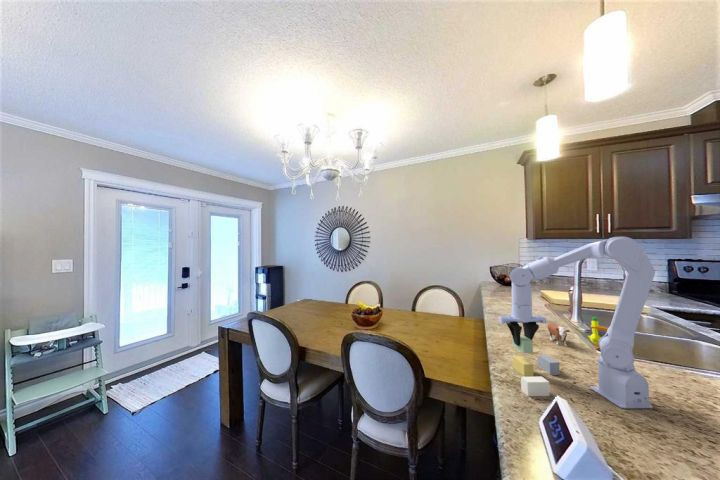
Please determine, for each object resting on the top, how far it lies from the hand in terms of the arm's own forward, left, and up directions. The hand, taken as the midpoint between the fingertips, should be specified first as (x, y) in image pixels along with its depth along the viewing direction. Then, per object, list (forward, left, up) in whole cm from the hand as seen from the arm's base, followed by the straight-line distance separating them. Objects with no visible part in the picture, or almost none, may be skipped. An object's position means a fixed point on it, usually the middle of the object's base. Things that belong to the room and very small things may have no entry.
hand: (522, 344), depth 85 cm
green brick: (0, 0, -2) cm, 2 cm away
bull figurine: (+23, -29, -9) cm, 38 cm away
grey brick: (+1, -9, -9) cm, 13 cm away
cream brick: (-12, +4, -9) cm, 16 cm away
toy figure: (+18, -41, -9) cm, 46 cm away
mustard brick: (0, 0, -9) cm, 9 cm away
